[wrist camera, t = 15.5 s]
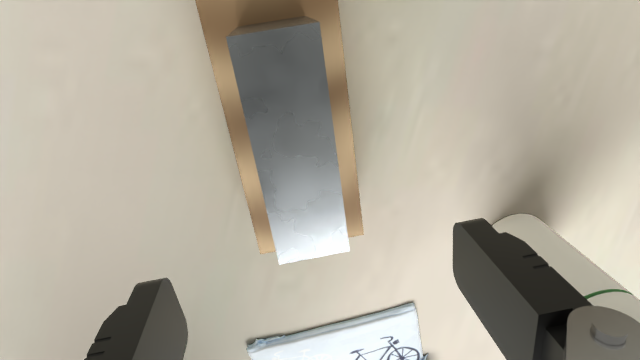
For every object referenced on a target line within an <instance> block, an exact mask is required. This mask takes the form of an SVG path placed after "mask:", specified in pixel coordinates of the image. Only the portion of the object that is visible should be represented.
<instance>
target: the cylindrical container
mask: <svg viewBox="0 0 640 360" xmlns="http://www.w3.org/2000/svg"><path fill="white" fill-rule="evenodd" d="M492 227H493V228H494V229H495V230H496V231H497V232H498V233H503V232H507V233H509V234H511V235H513V236H515V237H517V238H519V239H521V240H523V241H525V242H526V243H527V244H528V245H529V246H530V247H531V248H532V249H533V250H534V251H535V252H536V253H537V255H538V256H541V257H542V258H543V259H544V260H545V261H546V262H547V263H548V265H549V267H550V266H551V267H552V268H554V269H555V270H556V271H557V272H558V273H559V274H560V275H561V276H562V277H563V278H564V279H565V280H566V281H567V282H569V283H570V284H571V285H572V286H573V287H574V288H575V289H576V290H577V291H578V292H579V293H580V294H581V295H582V296H584V297H585V298H586V299H587V300H588V301H589V302H590V303H591V304H592V305H593V306H602V307H607V308H611V309H614V310H617V311H620V312H622V313H624V314H626V315H628V316H630V317H632V318H633V319H635V320H636V321H638V322H639V323H640V300H639V299H638V298H636V297H635V296H634V295H633V294H631V293H630V292H629V291H628V290H627V289H625V288H624V287H623V286H622V285H620V284H619V283H618V282H617V281H615V280H614V279H613V278H612V277H610V276H609V275H608V274H607V273H606V272H604V271H603V270H602V269H601V268H599V267H598V266H597V265H596V264H594V263H593V262H592V261H591V260H589V259H588V258H587V257H586V256H585V255H583V254H582V253H581V252H580V251H578V250H577V249H576V248H575V247H573V246H572V245H571V244H570V243H568V242H567V241H566V240H565V239H564V238H562V237H561V236H560V235H559V234H557V233H556V232H555V231H554V230H552V229H551V228H550V227H549V226H547V225H546V224H545V223H544V222H543V221H541V220H540V219H539V218H537V217H535V216H533V215H530V214H514V215H510V216H507V217H505V218H503V219H501V220H499V221H498V222H496V223H495V224H493V225H492Z"/></svg>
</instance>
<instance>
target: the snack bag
mask: <svg viewBox="0 0 640 360" xmlns="http://www.w3.org/2000/svg"><path fill="white" fill-rule="evenodd" d="M247 347H248V348H247V352H248V354H249V355H250V357H251V359H252V360H426V358H427V355H428V353H427V354H426V356H423V352H422V345H421V339H420V332H419V324H418V316H417V311H416V308H415V305H414V303H409V304H405V305H402V306H398V307H395V308H391V309H388V310H385V311H381V312H378V313H374V314H370V315H366V316H362V317H359V318H355V319H351V320H347V321H343V322H339V323H335V324H330V325H326V326H323V327H319V328H315V329H312V330H308V331H304V332H300V333H296V334H292V335H289V336H285V335H283V336H281V337H279V336H275V337H271V338H267V339H257V338H256V341H255V342H254V343H253V344H251V345H248V344H247Z"/></svg>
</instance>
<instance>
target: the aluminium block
mask: <svg viewBox="0 0 640 360" xmlns="http://www.w3.org/2000/svg"><path fill="white" fill-rule="evenodd" d="M226 40H227V44H228V49H229V53H230V57H231V61H232V66H233V70H234V74H235V78H236V83H237V87H238V91H239V96H240V100H241V104H242V108H243V113H244V117H245V121H246V125H247V130H248V134H249V138H250V142H251V147H252V151H253V155H254V159H255V164H256V168H257V172H258V176H259V181H260V185H261V189H262V193H263V198H264V202H265V206H266V211H267V215H268V219H269V223H270V228H271V232H272V236H273V240H274V245H275V249H276V253H277V257H278V262H279V265H280V264H285V263H290V262H295V261H301V260H306V259H311V258H316V257H321V256H327V255H332V254H337V253H342V252H348V251H350V248H349V241H348V233H347V225H346V218H345V210H344V203H343V195H342V188H341V180H340V173H339V165H338V158H337V150H336V142H335V135H334V127H333V120H332V112H331V105H330V97H329V90H328V82H327V75H326V67H325V60H324V52H323V44H322V37H321V29H320V22H319V21H316V20H314V19H312V18H309V17H307V16H301V17H295V18H289V19H283V20H276V21H270V22H264V23H258V24H251V25H245V26H239V27H237V28H236V29H234V30H233V31H232V32H231V33H230V34H229V35H227V36H226Z"/></svg>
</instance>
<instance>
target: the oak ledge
mask: <svg viewBox="0 0 640 360" xmlns="http://www.w3.org/2000/svg"><path fill="white" fill-rule="evenodd" d="M195 1H196V5H197V9H198V13H199V17H200V21H201V24H202V28H203V32H204V36H205V40H206V44H207V48H208V52H209V56H210V59H211V63H212V67H213V71H214V75H215V79H216V83H217V87H218V91H219V94H220V98H221V102H222V106H223V110H224V114H225V118H226V122H227V126H228V129H229V133H230V137H231V141H232V145H233V149H234V153H235V157H236V161H237V164H238V168H239V172H240V176H241V180H242V184H243V188H244V192H245V196H246V199H247V203H248V207H249V211H250V215H251V219H252V223H253V227H254V231H255V234H256V238H257V242H258V246H259V250H260V254H264V253H270V252H275V251H276V249H275V245H274V240H273V236H272V232H271V228H270V223H269V219H268V215H267V211H266V206H265V202H264V198H263V193H262V189H261V185H260V181H259V176H258V172H257V168H256V164H255V159H254V155H253V151H252V147H251V142H250V138H249V134H248V130H247V125H246V121H245V117H244V113H243V108H242V104H241V100H240V96H239V91H238V87H237V83H236V78H235V74H234V70H233V66H232V61H231V57H230V53H229V49H228V44H227V40H226V36H227V35H229V34H230V33H231V32H232V31H233V30H234V29H236V28H237V27H239V26H245V25H251V24H258V23H264V22H270V21H276V20H283V19H289V18H295V17H301V16H307V17H309V18H312V19H314V20H316V21H319V22H320V29H321V37H322V44H323V52H324V60H325V67H326V75H327V82H328V90H329V97H330V105H331V112H332V120H333V127H334V135H335V142H336V150H337V158H338V165H339V173H340V180H341V188H342V195H343V203H344V210H345V218H346V225H347V233H348V237H354V236H359V235H364V234H363V225H362V216H361V207H360V198H359V189H358V180H357V171H356V162H355V153H354V144H353V134H352V125H351V116H350V107H349V98H348V89H347V80H346V71H345V62H344V53H343V44H342V35H341V26H340V17H339V8H338V0H195Z"/></svg>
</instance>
